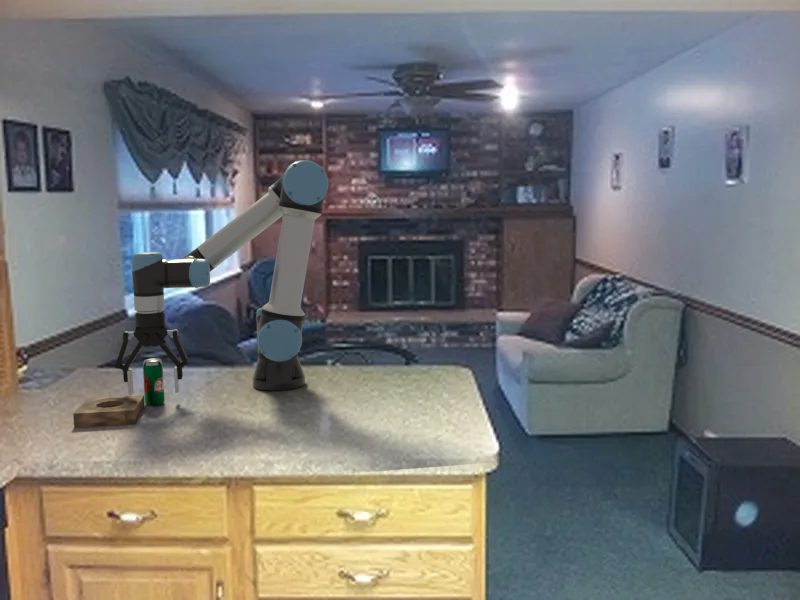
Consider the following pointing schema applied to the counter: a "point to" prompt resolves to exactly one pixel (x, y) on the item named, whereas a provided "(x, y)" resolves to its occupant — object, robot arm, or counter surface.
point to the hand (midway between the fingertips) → (154, 392)
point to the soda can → (153, 382)
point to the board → (109, 411)
